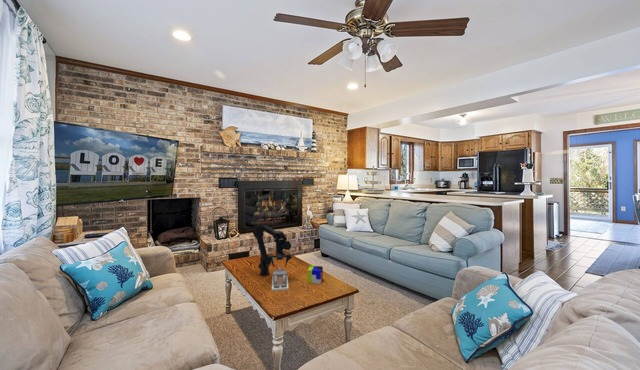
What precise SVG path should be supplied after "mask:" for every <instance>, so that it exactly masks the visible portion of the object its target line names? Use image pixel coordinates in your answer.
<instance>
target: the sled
mask: <svg viewBox="0 0 640 370" xmlns="http://www.w3.org/2000/svg"><path fill="white" fill-rule="evenodd" d="M280 270H282V267H281V266H278V269H277V271H280ZM280 284H284V275H280V276H276V285H280Z"/></svg>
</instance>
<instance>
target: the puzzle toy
mask: <svg viewBox="0 0 640 370" xmlns="http://www.w3.org/2000/svg"><path fill="white" fill-rule="evenodd" d="M323 268H324V267H323V266H322V265H321V266H319V265H310V266H309V267H308V269H307V284H317V285H321V283H322V281H323V279H324V278H323V277H324V275H323V274H324V270H323Z"/></svg>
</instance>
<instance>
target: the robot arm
mask: <svg viewBox="0 0 640 370" xmlns="http://www.w3.org/2000/svg"><path fill="white" fill-rule="evenodd" d="M264 232H265V233H267V234H269V235H270V236H272V238H273V239H274V240H273V242H274V243H275V255H274V254H268V252H267V249H266V245H265V241H264ZM252 234H253V237H254V238H255V239H256V241H257V245H258V249H259V253H260V259H259V262H260V263H259V264H258V266H257V267H258V269H259V271H260V273H259V276H263V277H266V276H269V275H270V269H269V268H270V267H271V264H272V267H273V268H275V263H274V261H275V260H274V259H276V260H277V261H282V260H283V259H285V262H284V263H285V264H284V266H285V267H284V268H286V267H287V264H288V261H290V260H291V259H292V253H290V252H289V253H286V252H284V250H286V251H290V250H291V248H292V243H291V242H290V241H289V240H287V237H286V235H285V233H284V232H283V231H281V230H276V229H273V228H272V227H270V226H268V225H267V224H263V225H260V226H258V227H257V228H254V229H253V230H252Z"/></svg>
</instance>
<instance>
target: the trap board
mask: <svg viewBox="0 0 640 370" xmlns="http://www.w3.org/2000/svg"><path fill="white" fill-rule="evenodd" d="M276 291H277V292H278V291H289V278H288V275H287V285H286V284H285V275H284V284H280V285H276V276H275V286H273V275H272V278H271V292H276Z"/></svg>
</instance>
